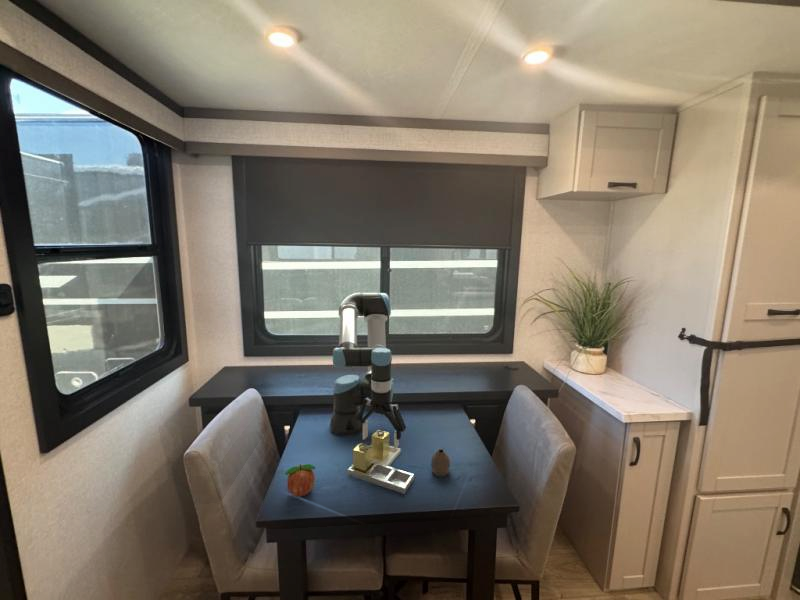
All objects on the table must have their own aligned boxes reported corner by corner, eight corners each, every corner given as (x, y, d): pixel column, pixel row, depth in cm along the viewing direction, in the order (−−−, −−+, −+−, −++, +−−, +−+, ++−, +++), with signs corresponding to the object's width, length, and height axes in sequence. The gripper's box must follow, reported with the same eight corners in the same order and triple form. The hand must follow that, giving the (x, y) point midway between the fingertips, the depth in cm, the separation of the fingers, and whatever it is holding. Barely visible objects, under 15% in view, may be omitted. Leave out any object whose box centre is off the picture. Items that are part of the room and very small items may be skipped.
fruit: (315, 500, 109) (314, 471, 108) (284, 504, 107) (283, 474, 106) (316, 482, 118) (315, 455, 116) (287, 485, 116) (286, 458, 114)
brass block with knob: (353, 473, 122) (353, 448, 121) (360, 465, 127) (360, 441, 125) (365, 477, 120) (365, 451, 119) (372, 469, 125) (372, 444, 123)
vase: (445, 482, 119) (445, 459, 118) (427, 475, 123) (428, 452, 121) (452, 471, 125) (453, 449, 124) (435, 465, 128) (436, 443, 127)
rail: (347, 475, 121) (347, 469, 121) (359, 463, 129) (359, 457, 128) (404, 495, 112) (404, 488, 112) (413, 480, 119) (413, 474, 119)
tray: (358, 461, 130) (358, 456, 130) (374, 445, 141) (374, 441, 140) (387, 470, 125) (387, 465, 125) (400, 453, 136) (400, 448, 135)
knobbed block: (377, 450, 136) (378, 428, 135) (389, 454, 134) (389, 431, 133) (371, 457, 132) (371, 434, 130) (383, 461, 129) (383, 437, 128)
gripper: (347, 386, 131) (347, 438, 134) (407, 399, 120) (406, 455, 123) (358, 380, 137) (357, 430, 140) (415, 392, 127) (414, 445, 130)
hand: (380, 442), depth 132 cm, fingers open, 13 cm apart
